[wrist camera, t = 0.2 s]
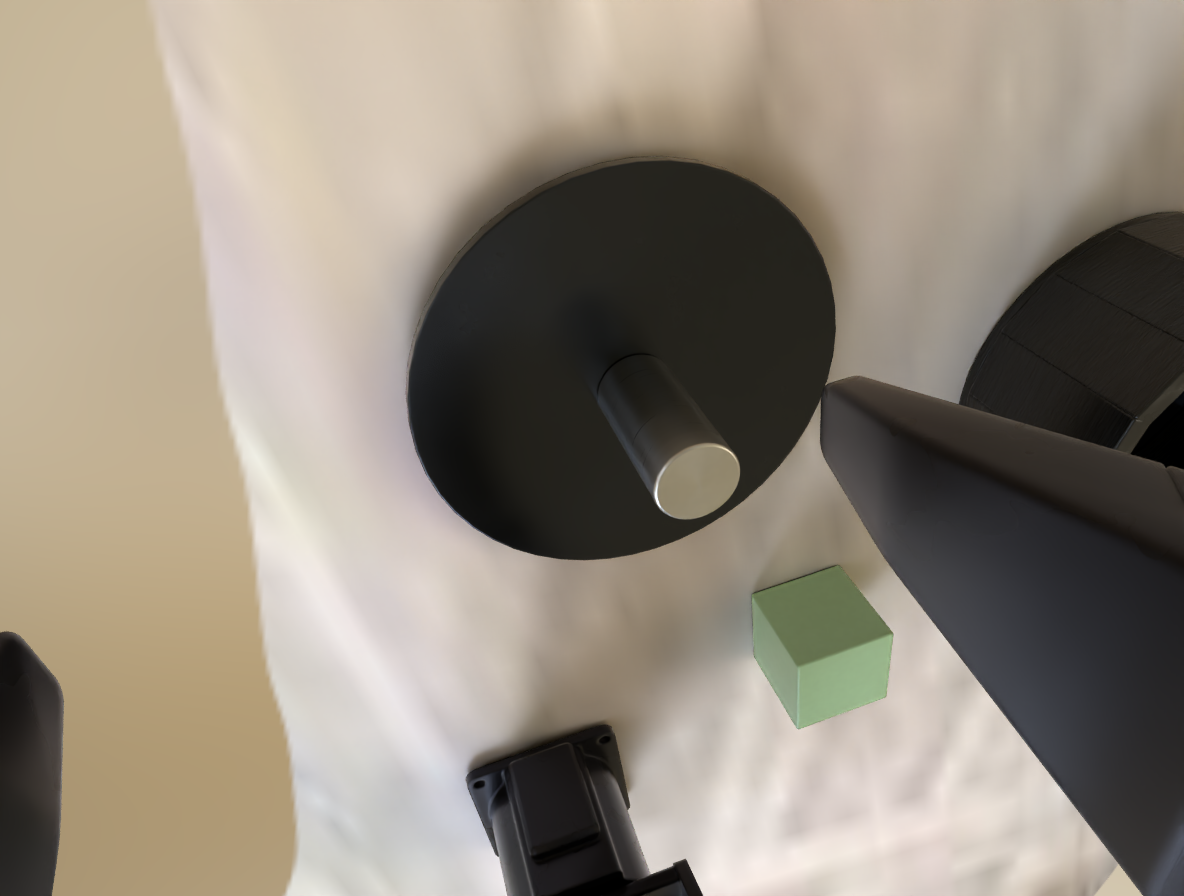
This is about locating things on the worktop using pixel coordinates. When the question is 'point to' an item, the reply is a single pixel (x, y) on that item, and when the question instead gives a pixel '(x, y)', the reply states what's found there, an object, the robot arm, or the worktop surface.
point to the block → (821, 646)
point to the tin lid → (620, 358)
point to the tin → (1097, 345)
